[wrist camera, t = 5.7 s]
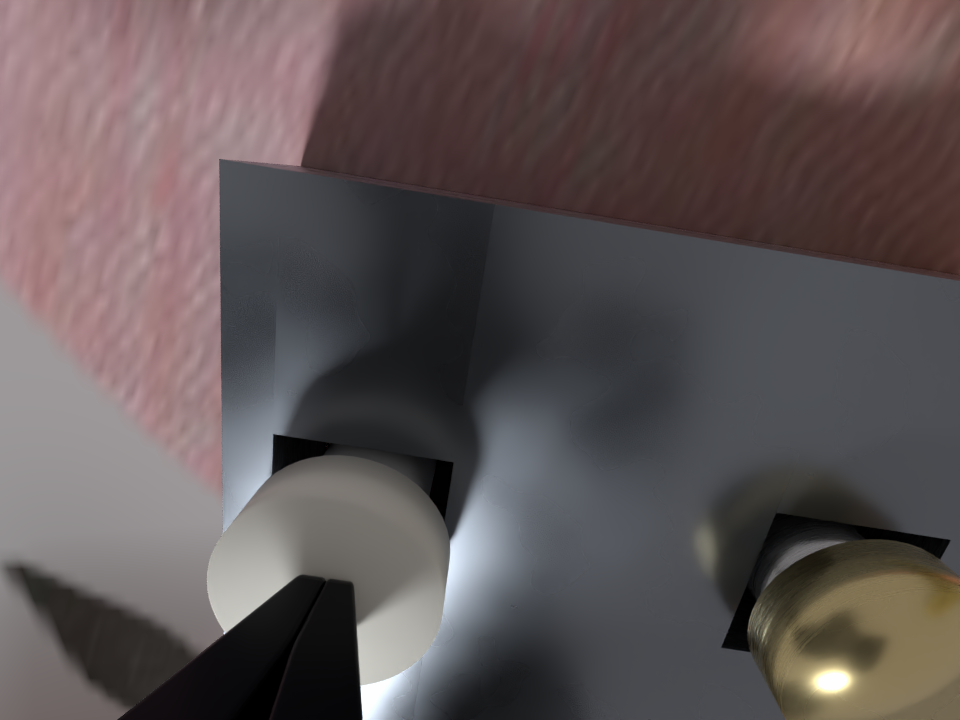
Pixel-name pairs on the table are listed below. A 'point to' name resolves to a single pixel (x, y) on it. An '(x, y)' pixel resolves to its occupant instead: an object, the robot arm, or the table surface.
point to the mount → (584, 423)
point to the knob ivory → (344, 549)
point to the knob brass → (854, 625)
